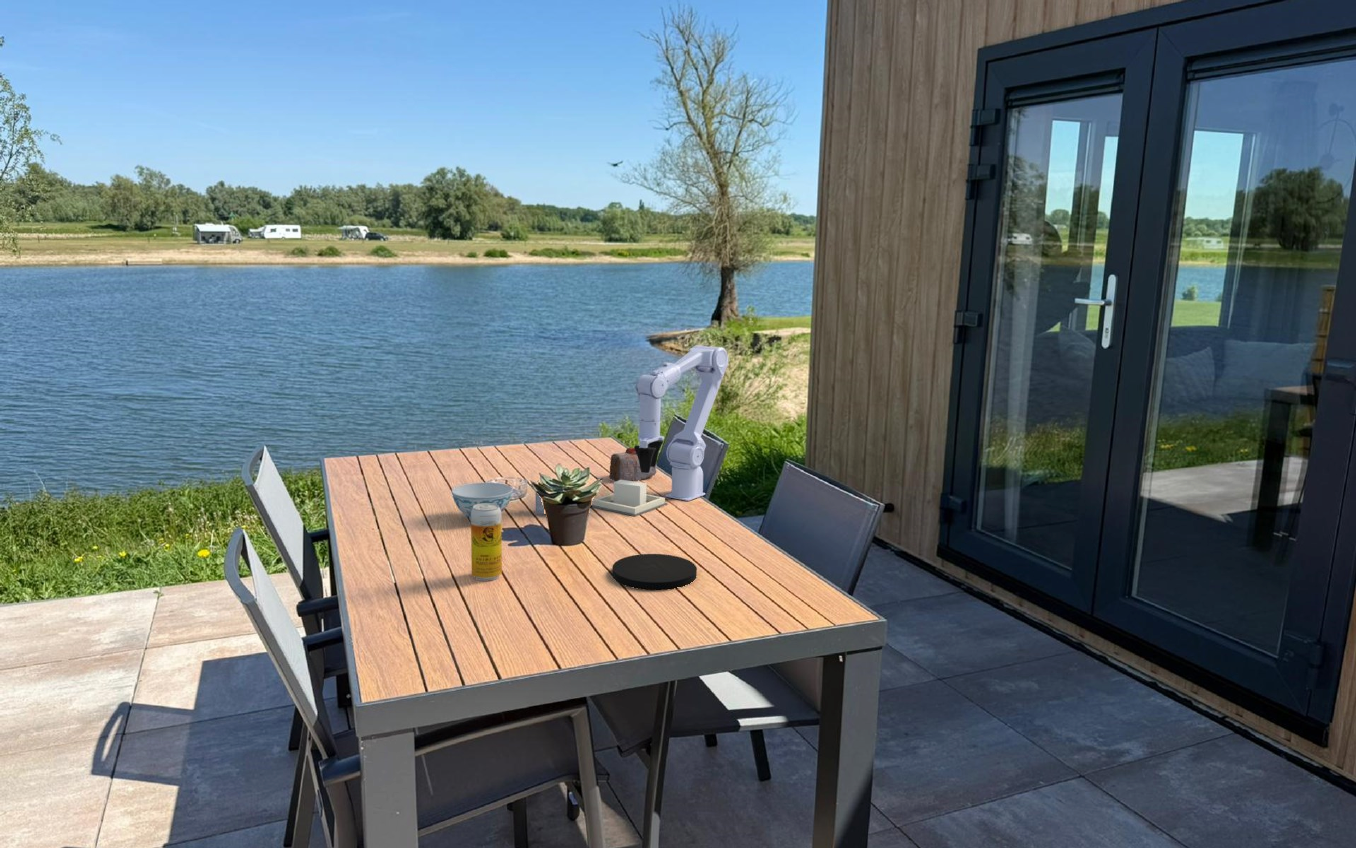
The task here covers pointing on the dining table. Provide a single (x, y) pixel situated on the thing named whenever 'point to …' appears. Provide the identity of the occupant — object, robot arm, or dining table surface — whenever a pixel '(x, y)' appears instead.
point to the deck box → (629, 493)
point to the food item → (628, 467)
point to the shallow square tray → (608, 504)
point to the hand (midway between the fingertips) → (648, 469)
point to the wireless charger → (654, 571)
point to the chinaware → (481, 495)
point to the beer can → (486, 541)
